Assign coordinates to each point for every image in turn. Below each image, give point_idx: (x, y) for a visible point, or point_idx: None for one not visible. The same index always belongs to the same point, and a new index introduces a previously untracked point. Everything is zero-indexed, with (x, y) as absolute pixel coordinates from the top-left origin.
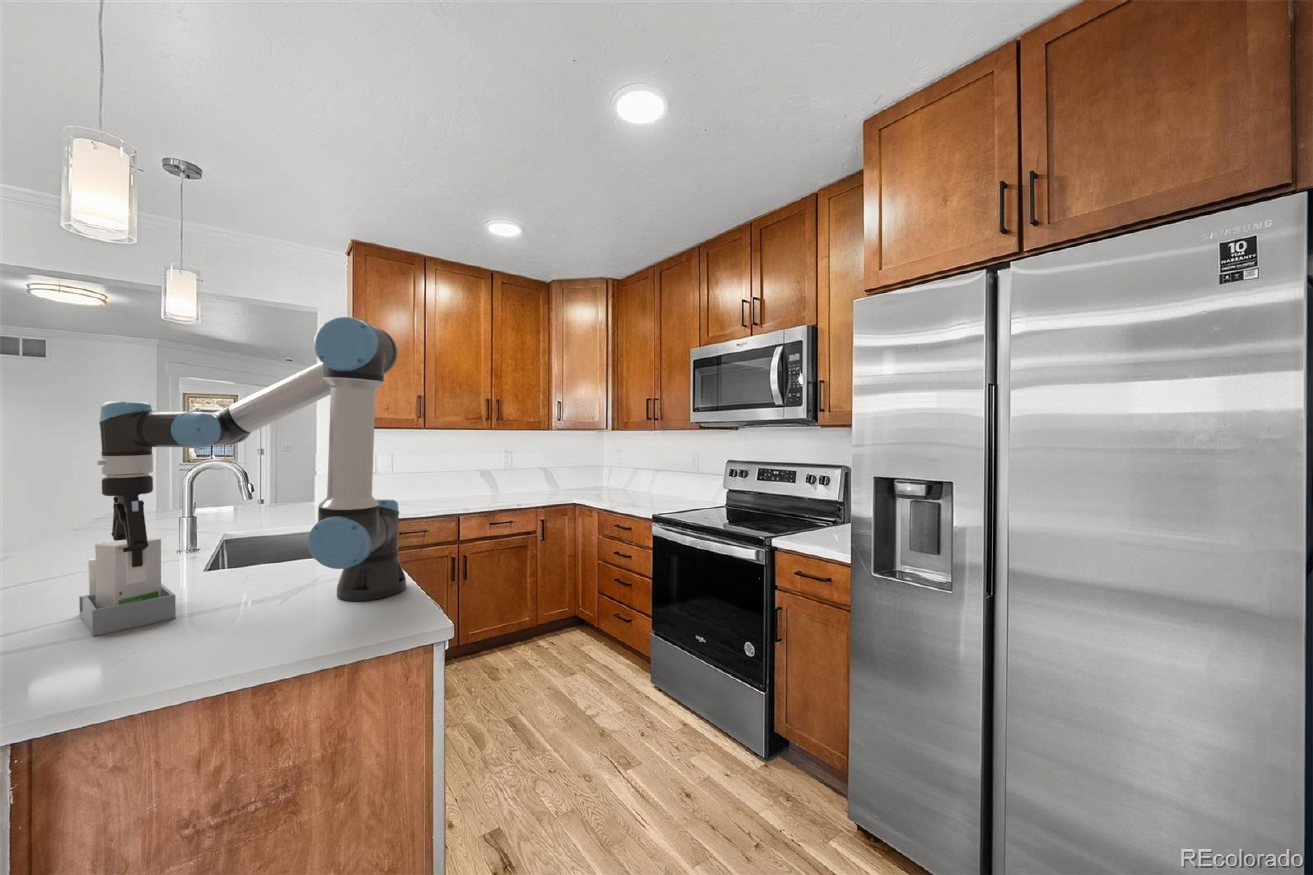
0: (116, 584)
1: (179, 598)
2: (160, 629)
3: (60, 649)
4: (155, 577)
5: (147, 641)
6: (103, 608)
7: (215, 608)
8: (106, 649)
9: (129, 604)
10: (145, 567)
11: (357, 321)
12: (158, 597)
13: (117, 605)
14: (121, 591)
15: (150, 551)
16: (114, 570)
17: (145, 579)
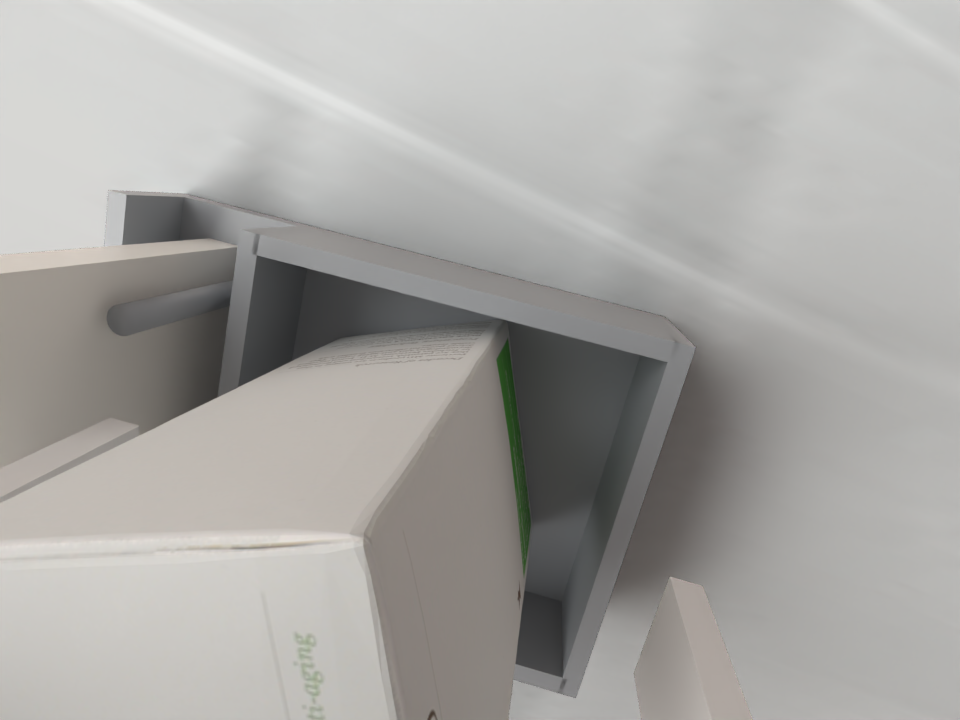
0: (513, 663)
1: (263, 107)
2: (783, 441)
3: (629, 715)
4: (485, 411)
5: (910, 551)
6: (584, 659)
7: (702, 106)
8: (827, 660)
9: (622, 561)
10: (732, 677)
11: None
12: (651, 427)
13: (595, 606)
14: (518, 598)
15: (443, 586)
16: None
17: (704, 598)
